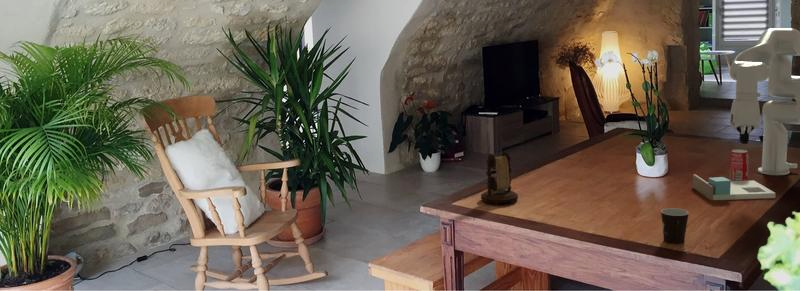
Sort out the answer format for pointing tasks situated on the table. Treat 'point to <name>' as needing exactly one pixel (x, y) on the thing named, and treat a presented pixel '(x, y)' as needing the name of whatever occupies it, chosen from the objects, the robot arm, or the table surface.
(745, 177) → the soda can
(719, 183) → the block
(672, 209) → the coffee mug
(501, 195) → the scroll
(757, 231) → the table surface
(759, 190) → the tray
